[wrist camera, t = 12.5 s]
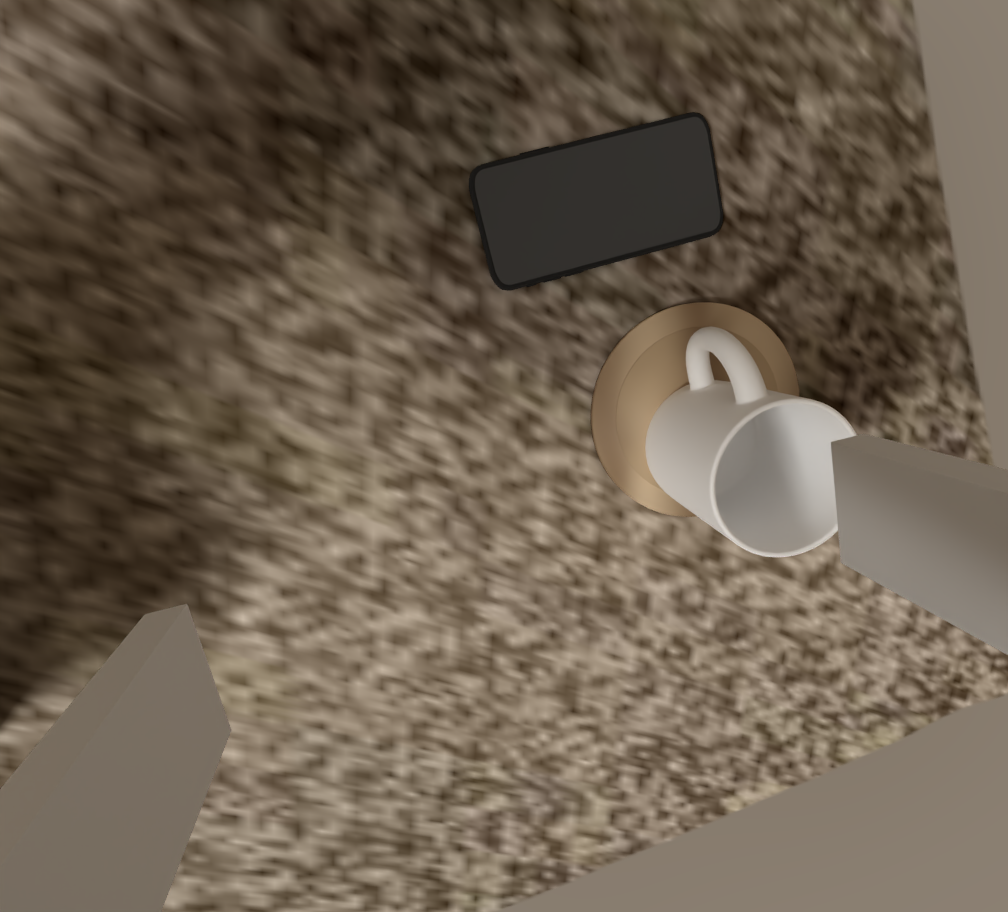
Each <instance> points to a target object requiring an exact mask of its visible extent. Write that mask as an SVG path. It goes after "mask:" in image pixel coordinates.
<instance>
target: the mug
mask: <svg viewBox="0 0 1008 912" xmlns="http://www.w3.org/2000/svg"><path fill="white" fill-rule="evenodd" d="M709 352H712V353H713V354H714V355H715V356H716V357H717V358H718V359H719V361H720V362H721V363H722V365H723V367H724V368H725V370H726V372H727V374H728V376H729V379H730V381H731V382H728V381H719V380H714V377H713V373H712V369H711V365H710V357H709ZM686 368H687V374H688V379H689V385H686V386H684V387H682V388H680V389H679V390H677V391H676V392H674V393H673V394H672V395H670V396H669V397H668V398H667V399H666V400H665V401H664V402H663V403H662V404H661V405H660V407H659V408H658V409H657V411H656V412H655V414H654V416H653V418H652V420H651V422H650V425H649V428H648V431H647V436H646V444H645V451H646V459H647V464H648V467H649V470H650V472H651V474H652V476H653V478H654V479H655V481H656V482H657V484H658V485H659V486H660V487H661V488H662V489H663V490H664V492H666V493H667V494H668V495H669V496H670V497H672V498H673V499H674V500H675V501H677V502H678V503H680V504H681V505H682V506H684V507H685V508H687V509H688V510H689V511H691V512H692V513H693V514H695V515H696V516H698V517H699V518H700V519H702V520H703V521H705V522H706V523H707V524H709V525H710V526H712V527H713V528H714V529H716V530H717V531H719V532H720V533H721V534H723V535H724V536H726V537H727V538H728V539H730V540H731V541H732V542H734V543H735V544H737V545H738V546H740V547H741V548H743V549H745V550H747V551H749V552H752V553H754V554H757V555H761V556H767V557H787V556H794V555H798V554H801V553H804V552H807V551H809V550H811V549H814V548H815V547H817V546H819V545H821V544H822V543H824V542H825V541H826V540H828V539H829V538H830V537H832V536H833V535H834V534H835V533H836V532H837V531H838V522H837V510H836V498H835V487H834V475H833V464H832V452H831V442H833V441H837V440H841V439H845V438H849V437H853V436H857V434H856V432H855V431H854V429H853V427H852V426H851V425H850V423H849V422H848V421H847V420H846V418H845V417H843V416H842V415H841V414H840V413H839V412H838V411H836V410H835V409H833V408H832V407H830V406H828V405H826V404H824V403H822V402H819V401H816V400H812V399H808V398H803V397H798V396H794V395H789V394H784V393H780V392H775V391H771V390H767V389H766V386H765V383H764V380H763V378H762V376H761V373H760V371H759V369H758V367H757V365H756V363H755V361H754V360H753V358H752V356H751V355H750V353H749V352H748V351H747V349H746V348H745V347H744V346H743V345H742V343H741V342H740V341H739V340H738V339H736V338H735V337H734V336H733V335H732V334H730V333H729V332H727V331H726V330H723V329H721V328H717V327H712V326H711V327H704V328H701V329H699V330H698V331H696V332H695V333H694V334H693V335H692V336H691V338H690V339H689V341H688V344H687V349H686Z"/></svg>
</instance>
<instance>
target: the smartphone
mask: <svg viewBox="0 0 1008 912" xmlns="http://www.w3.org/2000/svg"><path fill="white" fill-rule="evenodd" d="M469 190H470V194H471V198H472V202H473V206H474V210H475V214H476V218H477V222H478V226H479V230H480V234H481V238H482V242H483V246H484V250H485V254H486V258H487V262H488V267H489V271H490V275H491V277H492V279H493V281H494V283H495V284H496V285H497V286H498V287H499V288H501V289H502V290H514V289H517V288H521V287H525V286H526V287H529V286H533V285H536V283H540V282H548V281H551V280H555V279H559V278H561V277H562V276H565V277H566V276H570V275H574V274H577V273H581V272H583V271H585V270H588V269H592V268H596V267H599V266H603V265H607V264H610V263H614V262H618V261H622V260H625V259H629V258H633V257H636V256H640V255H644V254H647V253H651V252H655V251H659V250H662V249H666V248H670V247H673V246H677V245H681V244H684V243H688V242H692V241H696V240H699V239H703V238H707V237H710V236H712V235H714V234H716V233H717V232H718V231H719V230H720V228H721V226H722V223H723V209H722V203H721V197H720V191H719V184H718V178H717V172H716V166H715V160H714V153H713V147H712V141H711V135H710V129H709V126H708V123H707V121H706V120H705V118H704V117H703V116H702V115H701V114H699V113H695V112H694V113H687V114H683V115H679V116H675V117H671V118H667V119H663V120H659V121H655V122H651V123H647V124H643V125H639V126H635V127H631V128H627V129H623V130H619V131H615V132H611V133H607V134H602V135H598V136H594V137H590V138H586V139H582V140H578V141H574V142H570V143H566V144H562V145H558V146H554V147H550V148H549V147H545V148H541V149H537V150H533V151H529V152H525V153H521V154H520V155H518V156H514V157H510V158H506V159H502V160H498V161H494V162H490V163H486V164H482V165H480V166H477V167H476V168H475V169H474V170H473V171H472V172H471V174H470V178H469Z"/></svg>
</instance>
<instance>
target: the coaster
mask: <svg viewBox="0 0 1008 912" xmlns="http://www.w3.org/2000/svg"><path fill="white" fill-rule="evenodd" d="M711 326H712V327H717V328H721V329H723V330H726V331H727V332H729V333H730V334H732V335H733V336H734V337H735V338H736V339H738V340H739V341H740V342H741V343H742V345H743V346H744V347H745V348H746V349H747V351H748V352H749V353H750V355H751V356H752V358H753V360H754V361H755V363H756V365H757V367H758V369H759V371H760V373H761V376H762V378H763V380H764V383H765V386H766V389H767V390H771V391H775V392H780V393H784V394H789V395H794V396H798V397H799V386H798V380H797V375H796V372H795V368H794V365H793V362H792V360H791V358H790V356H789V354H788V351H787V350H786V348H785V347H784V345H783V343H782V342H781V340H780V339H779V338H778V337H777V335H776V334H775V333H774V332H773V331H772V330H771V329H770V328H769V327H768V326H767V325H766V324H764V323H763V322H762V321H761V320H759V319H758V318H756V317H755V316H753V315H752V314H750V313H748V312H746V311H743V310H741V309H739V308H736V307H733V306H729V305H725V304H719V303H711V302H703V303H688V304H681V305H677V306H673V307H670V308H667V309H664V310H662V311H660V312H657V313H655V314H653V315H651V316H649V317H648V318H646V319H645V320H643V321H641V322H640V323H639V324H637V325H636V326H635V327H634V328H632V329H631V330H630V331H629V332H628V333H627V334H626V335H625V336H624V337H623V338H622V339H621V340H620V341H619V342H618V343H617V345H616V346H615V347H614V349H613V350H612V351H611V353H610V354H609V356H608V358H607V359H606V361H605V363H604V365H603V366H602V369H601V371H600V373H599V376H598V378H597V381H596V385H595V388H594V392H593V397H592V404H591V430H592V437H593V441H594V445H595V449H596V452H597V454H598V457H599V459H600V462H601V463H602V465H603V467H604V469H605V470H606V472H607V474H608V475H609V476H610V478H611V479H612V480H613V482H614V483H615V484H616V485H617V486H618V487H619V488H620V489H621V490H622V491H623V492H624V493H625V494H627V495H628V496H629V497H631V498H632V499H633V500H635V501H636V502H637V503H639V504H641V505H643V506H645V507H647V508H649V509H651V510H654V511H657V512H659V513H663V514H668V515H672V516H683V517H692V516H696V515H695V514H693V513H692V512H691V511H689V510H688V509H687V508H685V507H684V506H682V505H681V504H680V503H678V502H677V501H675V500H674V499H673V498H672V497H670V496H669V495H668V494H667V493H666V492H664V490H663V489H662V488H661V487H660V486H659V485H658V484H657V482H656V481H655V479H654V478H653V476H652V474H651V472H650V470H649V467H648V464H647V459H646V451H645V444H646V436H647V431H648V428H649V425H650V422H651V420H652V418H653V416H654V414H655V412H656V411H657V409H658V408H659V407H660V405H661V404H662V403H663V402H664V401H665V400H666V399H667V398H668V397H669V396H670V395H672V394H673V393H674V392H676V391H677V390H679V389H680V388H682V387H684V386H686V385H689V379H688V374H687V368H686V349H687V344H688V341H689V339H690V338H691V336H692V335H693V334H694V333H695V332H696V331H698V330H699V329H701V328H704V327H711ZM709 357H710V365H711V369H712V373H713V377H714V380H719V381H728V382H731V381H730V379H729V376H728V374H727V372H726V370H725V368H724V367H723V365H722V363H721V362H720V361H719V359H718V358H717V357H716V356H715V355H714V354H713V353H712V352H709Z"/></svg>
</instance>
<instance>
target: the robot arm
mask: <svg viewBox="0 0 1008 912" xmlns="http://www.w3.org/2000/svg"><path fill="white" fill-rule="evenodd" d="M831 452H832V464H833V475H834V487H835V498H836V510H837V522H838V533H839V545H840V557H841V563H842V564H844V565H846V566H848V567H850V568H851V569H853V570H855V571H857V572H859V573H860V574H862V575H864V576H866V577H868V578H869V579H871V580H873V581H875V582H877V583H878V584H880V585H882V586H884V587H886V588H887V589H889V590H891V591H893V592H895V593H897V594H898V595H900V596H902V597H904V598H906V599H907V600H909V601H911V602H913V603H915V604H916V605H918V606H920V607H922V608H924V609H925V610H927V611H929V612H931V613H933V614H934V615H936V616H938V617H940V618H942V619H944V620H945V621H947V622H949V623H951V624H953V625H954V626H956V627H958V628H960V629H962V630H963V631H965V632H967V633H969V634H971V635H972V636H974V637H976V638H978V639H980V640H982V641H983V642H985V643H987V644H989V645H991V646H992V647H994V648H996V649H998V650H1000V651H1001V652H1003V653H1005V654H1007V655H1008V470H1006V469H1002V468H998V467H994V466H990V465H986V464H982V463H978V462H974V461H970V460H966V459H962V458H958V457H955V456H951V455H947V454H943V453H939V452H935V451H931V450H927V449H923V448H919V447H915V446H911V445H907V444H903V443H899V442H895V441H891V440H887V439H883V438H879V437H875V436H871V435H867V434H861V435H857V436H853V437H849V438H845V439H841V440H837V441H833V442H831ZM230 732H231V728H230V725H229V722H228V719H227V716H226V713H225V711H224V708H223V705H222V702H221V699H220V696H219V693H218V691H217V688H216V685H215V682H214V679H213V676H212V673H211V670H210V668H209V665H208V662H207V659H206V656H205V653H204V650H203V647H202V645H201V642H200V639H199V636H198V633H197V630H196V627H195V625H194V622H193V619H192V616H191V613H190V610H189V607H188V604H184V605H180V606H176V607H172V608H168V609H164V610H160V611H156V612H152V613H148V614H145V615H144V616H143V617H142V618H141V619H140V621H139V622H138V623H137V624H136V625H135V627H134V628H133V629H132V630H131V632H130V633H129V634H128V635H127V636H126V638H125V639H124V640H123V641H122V642H121V644H120V645H119V646H118V647H117V648H116V650H115V651H114V652H113V653H112V655H111V656H110V657H109V658H108V659H107V661H106V662H105V663H104V664H103V665H102V667H101V668H100V669H99V670H98V671H97V673H96V674H95V675H94V676H93V677H92V679H91V680H90V681H89V682H88V684H87V685H86V686H85V687H84V688H83V690H82V691H81V692H80V693H79V694H78V696H77V697H76V698H75V699H74V700H73V702H72V703H71V704H70V705H69V707H68V708H67V709H66V710H65V711H64V713H63V714H62V715H61V716H60V717H59V719H58V720H57V721H56V722H55V723H54V725H53V726H52V727H51V728H50V730H49V731H48V732H47V733H46V734H45V736H44V737H43V738H42V739H41V740H40V742H39V743H38V744H37V745H36V746H35V748H34V749H33V750H32V751H31V753H30V754H29V755H28V756H27V757H26V759H25V760H24V761H23V762H22V763H21V765H20V766H19V767H18V768H17V769H16V771H15V772H14V773H13V774H12V775H11V777H10V778H9V779H8V780H7V782H6V783H5V784H4V785H3V786H2V788H0V912H161V910H162V908H163V905H164V903H165V900H166V897H167V895H168V892H169V890H170V887H171V885H172V882H173V879H174V877H175V874H176V872H177V869H178V867H179V864H180V861H181V859H182V856H183V854H184V851H185V848H186V846H187V843H188V841H189V838H190V836H191V833H192V830H193V828H194V825H195V823H196V820H197V817H198V815H199V812H200V810H201V807H202V805H203V802H204V799H205V797H206V794H207V792H208V789H209V787H210V784H211V781H212V779H213V776H214V774H215V771H216V768H217V766H218V763H219V761H220V758H221V756H222V753H223V750H224V748H225V745H226V743H227V740H228V738H229V735H230Z"/></svg>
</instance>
